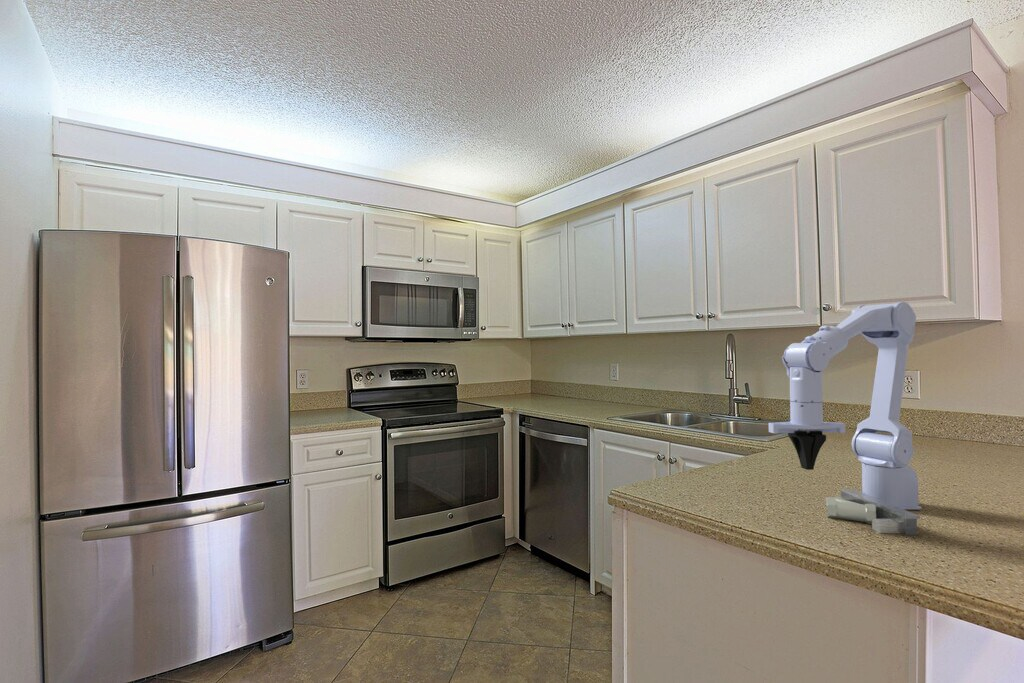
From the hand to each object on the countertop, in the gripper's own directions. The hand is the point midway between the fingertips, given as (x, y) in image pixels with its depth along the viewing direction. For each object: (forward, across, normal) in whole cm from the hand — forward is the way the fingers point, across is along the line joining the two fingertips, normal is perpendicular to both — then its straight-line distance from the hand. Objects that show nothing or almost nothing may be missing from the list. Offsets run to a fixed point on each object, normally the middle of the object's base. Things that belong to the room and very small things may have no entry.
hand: (807, 468), depth 101 cm
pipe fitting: (+10, -8, 0) cm, 13 cm away
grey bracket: (+10, -11, +1) cm, 15 cm away
